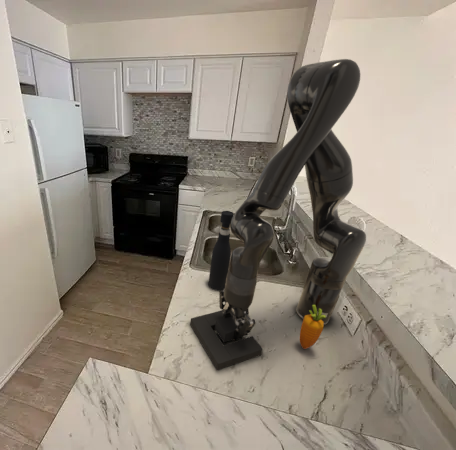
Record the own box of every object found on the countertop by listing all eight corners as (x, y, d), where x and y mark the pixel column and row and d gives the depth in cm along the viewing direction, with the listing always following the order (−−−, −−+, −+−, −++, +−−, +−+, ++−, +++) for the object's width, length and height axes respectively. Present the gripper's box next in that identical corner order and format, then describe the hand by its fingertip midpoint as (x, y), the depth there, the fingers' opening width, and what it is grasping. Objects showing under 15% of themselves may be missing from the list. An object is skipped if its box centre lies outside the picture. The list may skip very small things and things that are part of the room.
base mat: (228, 313, 84) (229, 308, 83) (261, 355, 70) (263, 348, 69) (190, 324, 80) (190, 318, 79) (217, 370, 66) (218, 363, 65)
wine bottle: (209, 290, 94) (219, 216, 81) (207, 279, 100) (216, 208, 87) (227, 291, 94) (239, 217, 81) (223, 280, 100) (235, 209, 87)
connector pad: (237, 322, 78) (239, 313, 76) (247, 335, 74) (249, 326, 72) (214, 328, 76) (216, 320, 74) (223, 342, 71) (225, 333, 70)
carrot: (316, 357, 70) (333, 317, 63) (296, 354, 71) (311, 314, 64) (310, 342, 74) (325, 303, 68) (291, 339, 75) (305, 300, 68)
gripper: (270, 300, 62) (258, 347, 70) (236, 267, 74) (228, 310, 82) (245, 307, 60) (234, 355, 67) (213, 272, 72) (207, 316, 80)
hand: (231, 330), depth 75 cm, fingers closed on connector pad, 5 cm apart
